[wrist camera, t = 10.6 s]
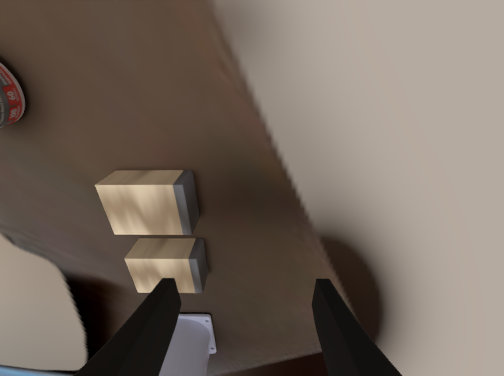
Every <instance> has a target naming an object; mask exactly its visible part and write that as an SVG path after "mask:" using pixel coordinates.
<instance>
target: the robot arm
mask: <svg viewBox="0 0 504 376" xmlns="http://www.w3.org/2000/svg"><path fill="white" fill-rule="evenodd" d="M180 308H181V300H180V296H179V292H178V289H177V285H176V281H175V278H162V279H161V280H160V281H159V283H158V284H157V285H156V286H155V288H154V289H153V290H152V291H151V293H150V294H149V295H148V296H147V298H146V299H145V300H144V301H143V302H142V304H141V305H140V306H139V307H138V308H137V310H136V311H135V312H134V313H133V314H132V315H131V317H130V318H129V319H128V320H127V321H126V322H125V323H124V325H123V326H122V327H121V328H120V329H119V330H118V331H117V332H116V333H115V334H114V336H113V337H112V338H111V339H110V340H109V341H108V342H107V343H106V344H105V345H104V346H103V347H102V348H101V349H100V350H99V351H98V352H97V353H96V354H95V355H94V356H93V357H92V358H91V359H90V360H89V361H88V362H87V363H86V364H85V365H84V366H83V367H82V368H81V369H80V370H79V371H78V372H77V373H76V374H75V375H73V376H206V371H207V365H208V359H209V354H214V353H216V344H215V338H214V332H213V326H212V320H211V316H210V315H209V314H179V312H180ZM312 309H313V315H314V320H315V326H316V330H317V334H318V337H319V341H320V345H321V348H322V352H323V355H324V359H325V363H326V366H327V370H328V373H329V376H402V375H401V374H400V373H399V371H398V370H397V369H396V368H395V367H394V366H393V365H392V363H391V362H390V361H389V360H388V359H387V358H386V356H385V355H384V354H383V353H382V351H381V350H380V349H379V348H378V347H377V345H376V344H375V343H374V342H373V340H372V339H371V338H370V337H369V335H368V334H367V333H366V331H365V330H364V329H363V327H362V326H361V325H360V323H359V322H358V321H357V319H356V318H355V316H354V315H353V314H352V312H351V311H350V309H349V308H348V307H347V305H346V304H345V302H344V301H343V299H342V298H341V296H340V295H339V293H338V292H337V290H336V288H335V287H334V285H333V284H332V282H331V280H329V279H316V284H315V290H314V295H313V301H312Z"/></svg>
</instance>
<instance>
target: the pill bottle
mask: <svg viewBox="0 0 504 376" xmlns="http://www.w3.org/2000/svg"><path fill="white" fill-rule="evenodd" d="M24 110H25V98H24V95H23V92H22V89H21V87H20V85H19V83H18V82H17V80H16V79H15V77H14V76H13V75H12V74H11V73H10V71H9V70H8V69H7V68H6V67H5V66H4V65H3V64H1V63H0V128H1V127H5V126H8V125H10V124H12V123H14V122H16V121H17V120H19V119H20V118H21V116H22V115H23V113H24Z"/></svg>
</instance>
